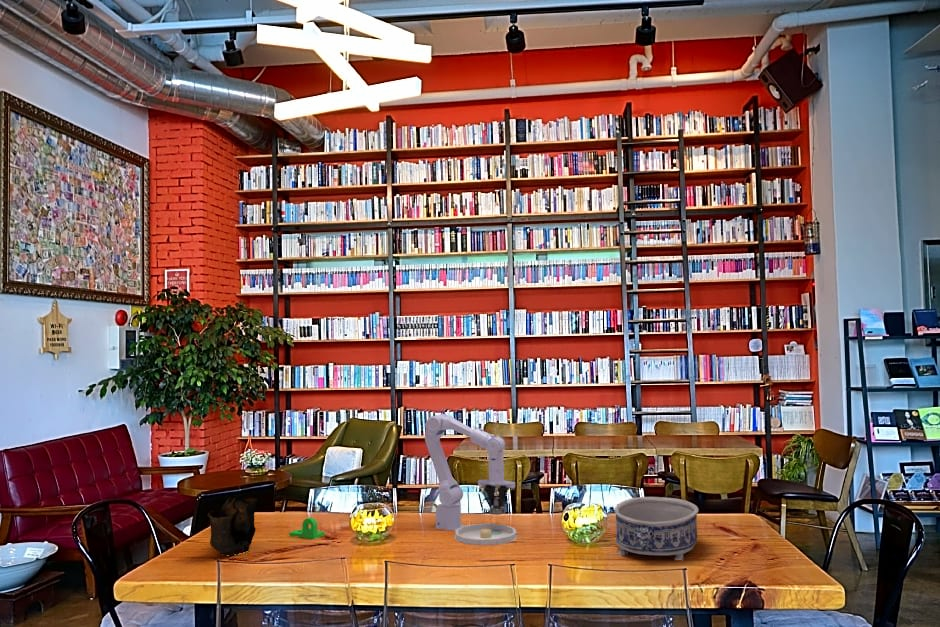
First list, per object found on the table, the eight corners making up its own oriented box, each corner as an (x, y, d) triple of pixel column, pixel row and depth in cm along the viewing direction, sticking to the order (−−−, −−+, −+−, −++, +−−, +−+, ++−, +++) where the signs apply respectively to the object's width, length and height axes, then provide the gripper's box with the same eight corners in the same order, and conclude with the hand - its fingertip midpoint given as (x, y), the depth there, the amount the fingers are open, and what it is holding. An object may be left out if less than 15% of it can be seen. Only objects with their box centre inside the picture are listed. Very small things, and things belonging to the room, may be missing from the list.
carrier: (443, 543, 260) (442, 534, 260) (472, 527, 280) (471, 519, 280) (501, 550, 249) (501, 541, 249) (527, 533, 270) (526, 525, 270)
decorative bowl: (631, 531, 270) (630, 491, 270) (706, 538, 259) (705, 496, 259) (603, 565, 231) (602, 517, 232) (689, 574, 220) (688, 525, 221)
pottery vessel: (237, 543, 265) (236, 489, 266) (265, 544, 263) (264, 489, 264) (200, 565, 240) (200, 504, 241) (231, 566, 238) (230, 505, 239)
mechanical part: (324, 537, 272) (324, 515, 272) (313, 541, 267) (313, 519, 267) (300, 533, 278) (299, 512, 278) (289, 537, 272) (288, 516, 273)
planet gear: (487, 514, 273) (486, 499, 273) (493, 510, 278) (493, 495, 278) (501, 515, 270) (500, 500, 270) (507, 511, 275) (507, 497, 276)
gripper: (474, 470, 274) (475, 506, 274) (509, 472, 268) (510, 509, 267) (482, 467, 280) (483, 502, 280) (517, 469, 274) (517, 505, 274)
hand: (497, 505), depth 274 cm, fingers closed on planet gear, 3 cm apart
